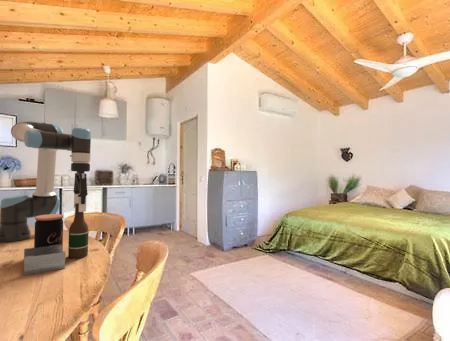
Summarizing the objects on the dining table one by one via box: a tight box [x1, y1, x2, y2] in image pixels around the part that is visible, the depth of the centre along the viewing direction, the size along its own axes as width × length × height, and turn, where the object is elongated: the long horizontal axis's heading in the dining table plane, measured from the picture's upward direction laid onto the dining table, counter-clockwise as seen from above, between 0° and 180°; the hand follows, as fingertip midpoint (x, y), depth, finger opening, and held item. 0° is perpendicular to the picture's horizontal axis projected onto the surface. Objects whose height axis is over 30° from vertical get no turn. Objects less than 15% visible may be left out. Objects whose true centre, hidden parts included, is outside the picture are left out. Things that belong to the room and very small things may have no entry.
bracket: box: [23, 244, 66, 276], centre depth 105 cm, size 13×13×6 cm
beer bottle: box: [67, 203, 89, 260], centre depth 118 cm, size 8×8×24 cm
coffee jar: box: [33, 213, 64, 251], centre depth 117 cm, size 11×11×18 cm
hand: (79, 209), depth 118 cm, fingers open, 13 cm apart
